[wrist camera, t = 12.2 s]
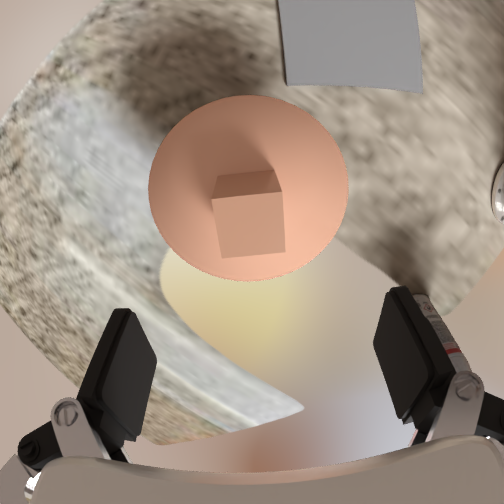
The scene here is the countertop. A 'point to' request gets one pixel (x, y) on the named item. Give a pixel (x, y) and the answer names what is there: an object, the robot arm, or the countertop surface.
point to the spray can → (443, 333)
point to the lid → (248, 188)
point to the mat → (352, 43)
